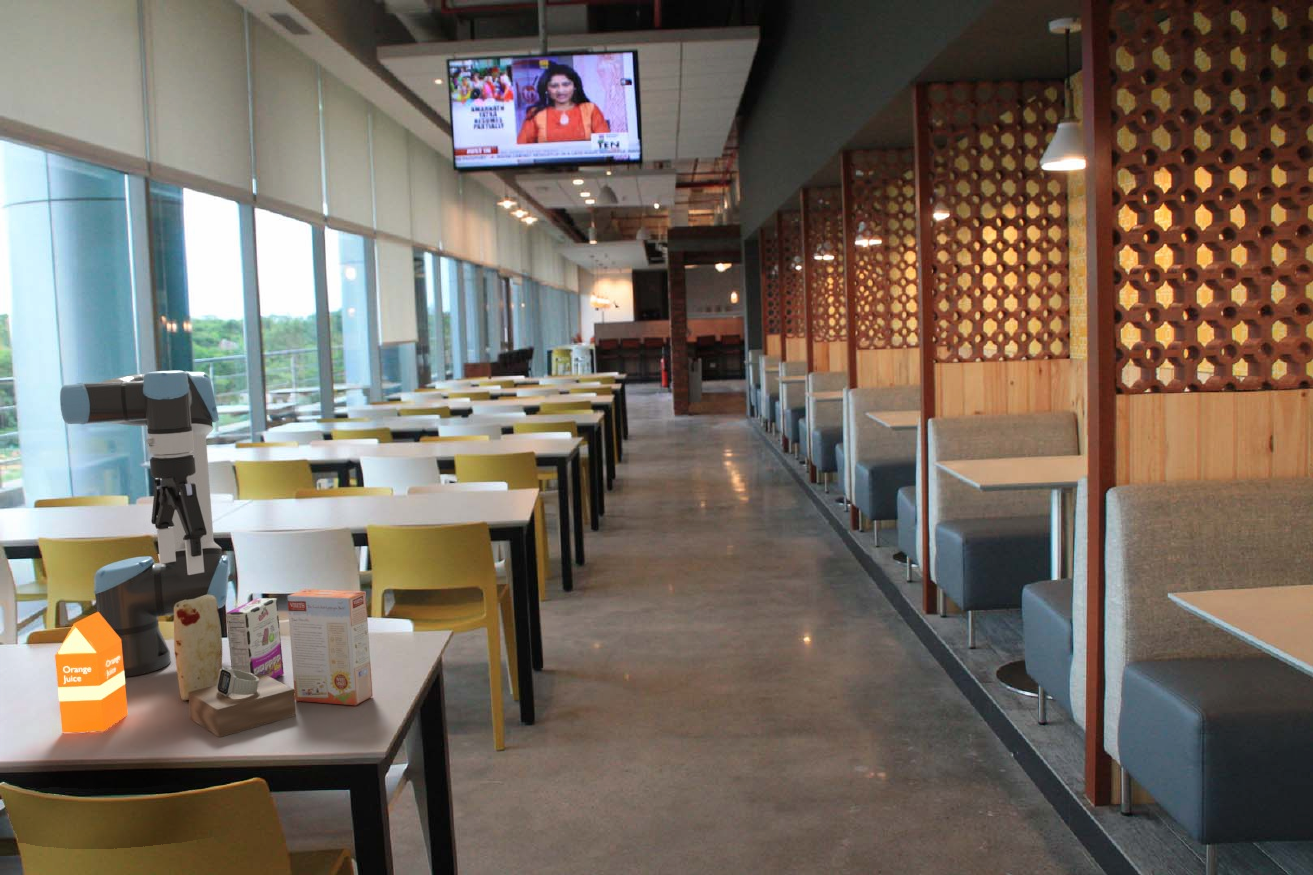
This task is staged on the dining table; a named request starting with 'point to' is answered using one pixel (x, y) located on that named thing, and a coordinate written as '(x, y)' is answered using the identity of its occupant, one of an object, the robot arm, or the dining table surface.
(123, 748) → the dining table surface
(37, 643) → the dining table surface
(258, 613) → the candy bar box
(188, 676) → the food model
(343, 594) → the cracker box
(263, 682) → the walnut base
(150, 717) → the dining table surface
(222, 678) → the wristwatch
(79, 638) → the orange juice
